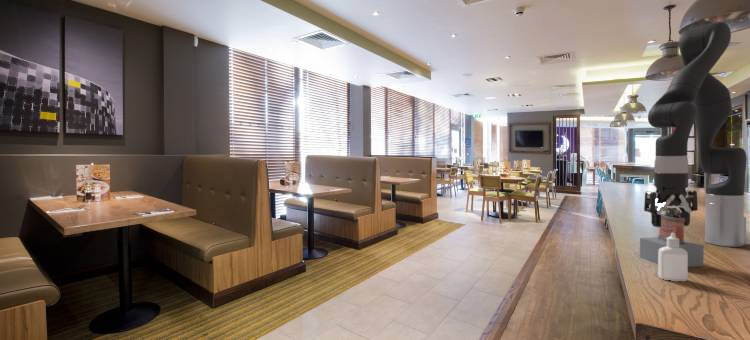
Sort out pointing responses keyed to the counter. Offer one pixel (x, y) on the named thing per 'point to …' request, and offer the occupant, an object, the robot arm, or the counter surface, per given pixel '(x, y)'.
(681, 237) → the lighter
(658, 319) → the counter surface
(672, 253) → the eye dropper bottle
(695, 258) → the pedestal block
